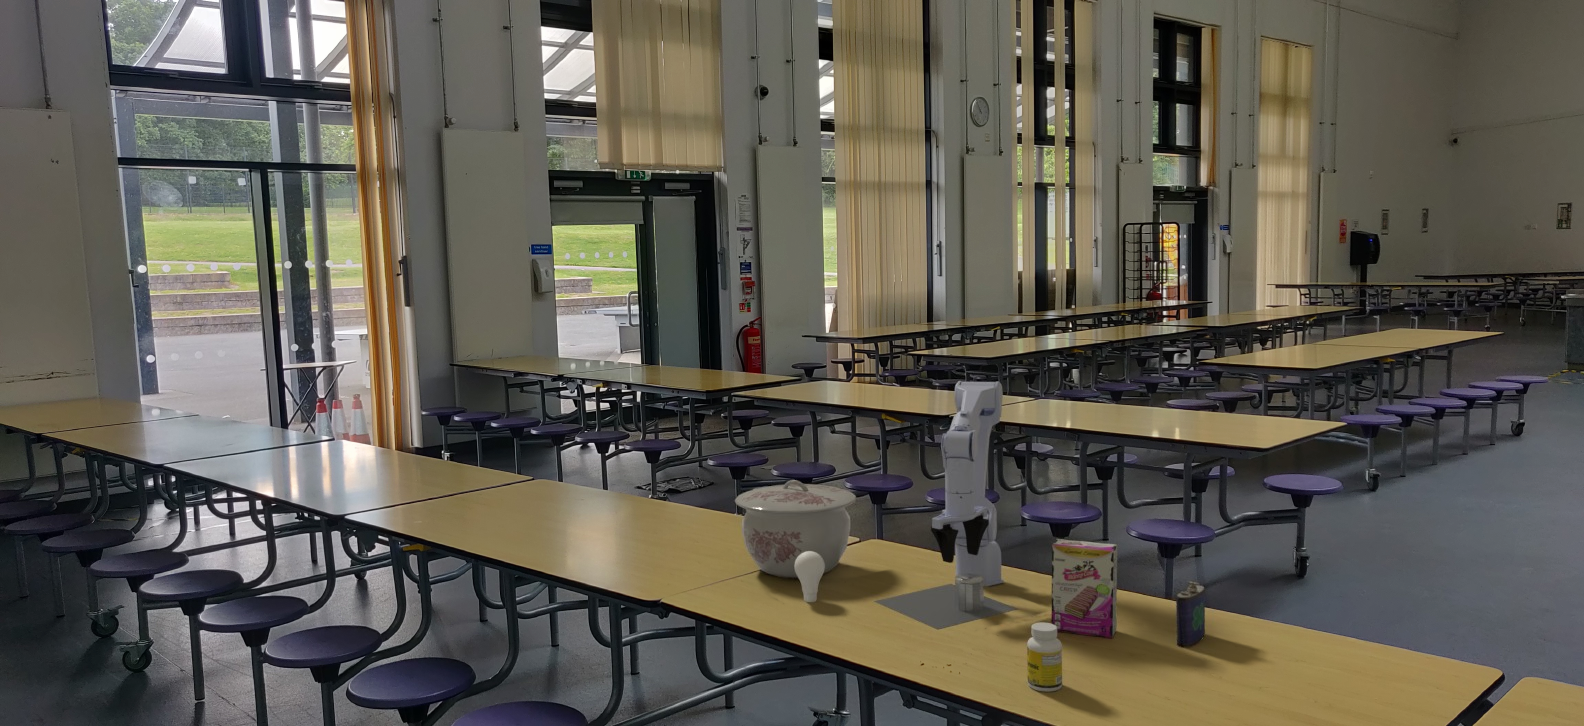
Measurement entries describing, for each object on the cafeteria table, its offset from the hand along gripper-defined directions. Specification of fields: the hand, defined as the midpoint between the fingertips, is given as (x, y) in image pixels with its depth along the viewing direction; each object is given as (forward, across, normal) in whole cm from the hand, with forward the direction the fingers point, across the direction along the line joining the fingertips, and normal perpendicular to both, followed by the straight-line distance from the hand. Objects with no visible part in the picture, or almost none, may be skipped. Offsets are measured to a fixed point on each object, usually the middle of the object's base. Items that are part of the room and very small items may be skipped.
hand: (960, 557), depth 205 cm
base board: (+9, +5, 0) cm, 11 cm away
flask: (+10, -13, +42) cm, 45 cm away
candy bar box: (+10, -4, +26) cm, 28 cm away
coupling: (+8, +3, +5) cm, 10 cm away
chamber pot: (+10, +7, -42) cm, 43 cm away
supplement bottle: (+10, +22, +36) cm, 43 cm away
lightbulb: (+10, +22, -21) cm, 32 cm away
